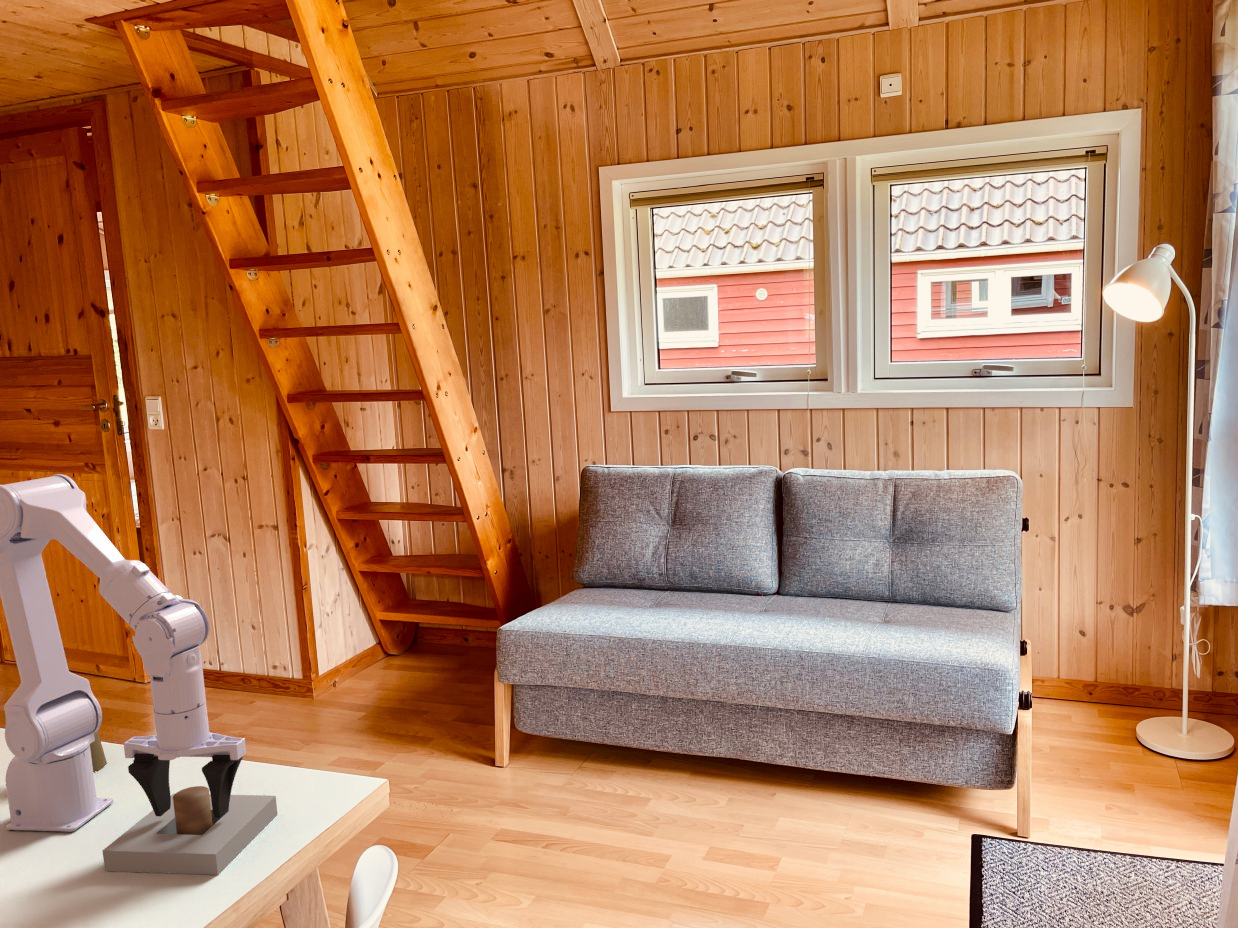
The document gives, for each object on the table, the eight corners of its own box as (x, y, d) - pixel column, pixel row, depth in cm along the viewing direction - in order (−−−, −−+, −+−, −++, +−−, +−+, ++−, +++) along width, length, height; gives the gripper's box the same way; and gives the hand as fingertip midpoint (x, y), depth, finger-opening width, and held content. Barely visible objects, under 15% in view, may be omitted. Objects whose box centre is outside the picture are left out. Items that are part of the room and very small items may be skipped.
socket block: (104, 870, 113) (102, 850, 113) (175, 811, 127) (173, 793, 127) (217, 874, 111) (215, 854, 111) (277, 814, 125) (275, 795, 125)
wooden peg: (171, 849, 118) (166, 801, 117) (189, 832, 122) (184, 786, 121) (203, 849, 117) (197, 801, 116) (220, 832, 121) (215, 786, 120)
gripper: (102, 717, 114) (115, 828, 116) (218, 719, 112) (230, 831, 114) (139, 695, 121) (152, 799, 123) (250, 696, 119) (261, 802, 121)
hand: (192, 813), depth 119 cm, fingers open, 7 cm apart
